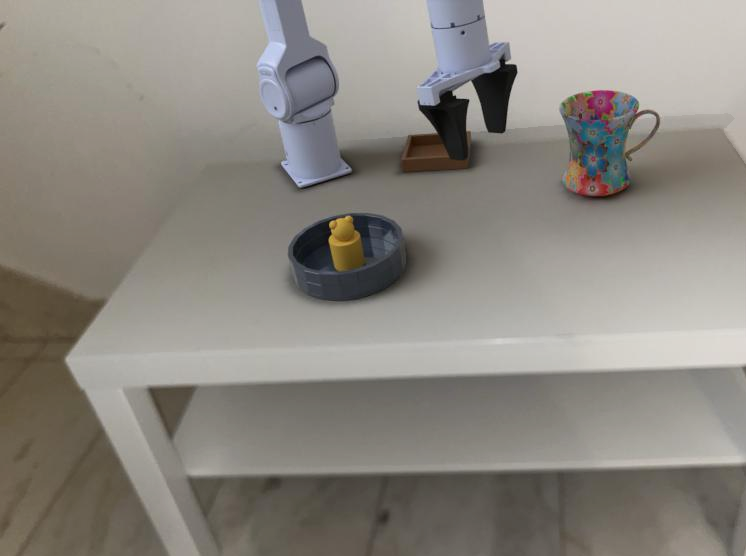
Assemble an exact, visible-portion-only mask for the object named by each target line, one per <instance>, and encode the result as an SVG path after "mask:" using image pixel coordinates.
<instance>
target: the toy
mask: <svg viewBox="0 0 746 556" xmlns="http://www.w3.org/2000/svg"><path fill="white" fill-rule="evenodd" d="M352 223H353V218H352V217H351V216H346V217H345V218H339V219H337V220H335V221H331V222H330V224H329V226H330V228H331V232H332V235H331V236H330V237H329V244H330V249H331V253H332V258H333V262H334V267H335V269H336V270H338V271H346V270H352V269H357V268H360V267H363V265H364V264H365V258H364V253H363V248H362V243H361V237H360V234H359V232H357V231H356V230H354V226H353V224H352Z"/></svg>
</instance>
